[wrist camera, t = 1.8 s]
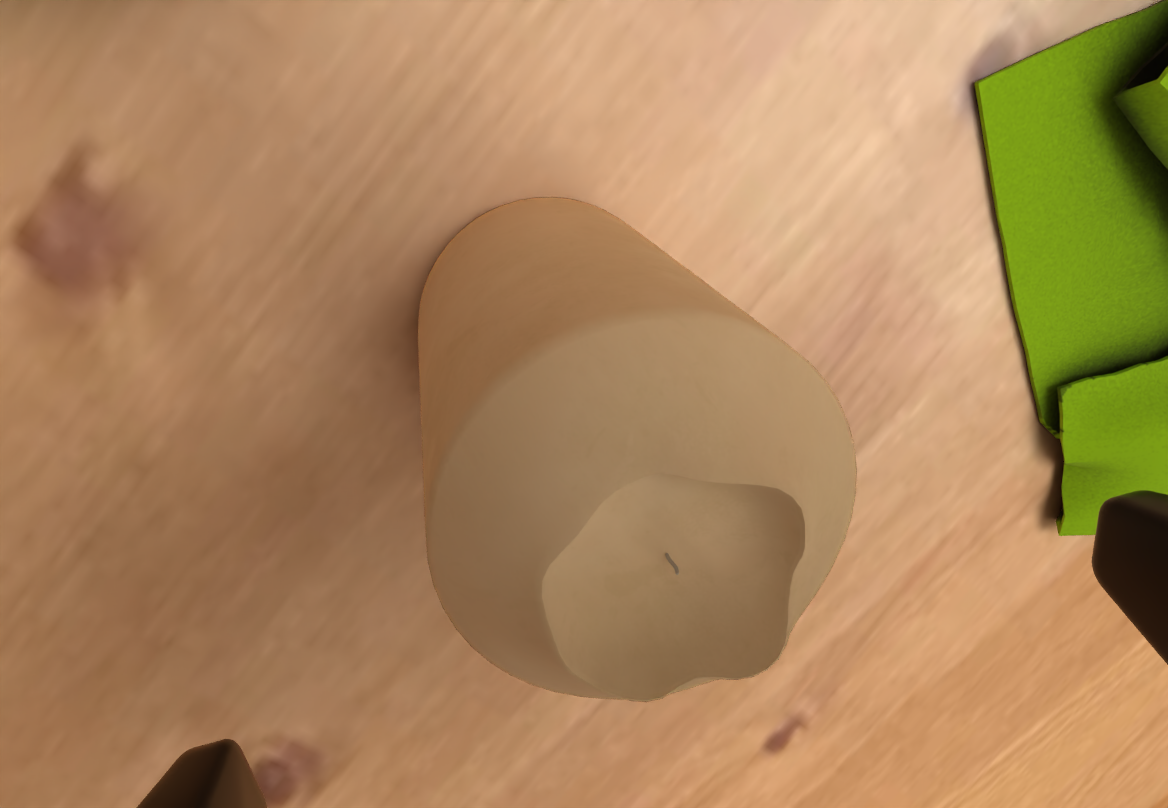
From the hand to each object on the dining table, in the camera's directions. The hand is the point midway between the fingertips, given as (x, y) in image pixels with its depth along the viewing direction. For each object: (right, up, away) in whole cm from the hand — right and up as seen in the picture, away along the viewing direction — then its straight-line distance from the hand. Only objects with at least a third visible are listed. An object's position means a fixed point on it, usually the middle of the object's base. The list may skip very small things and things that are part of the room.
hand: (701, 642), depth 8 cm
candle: (-2, +4, +10) cm, 11 cm away
